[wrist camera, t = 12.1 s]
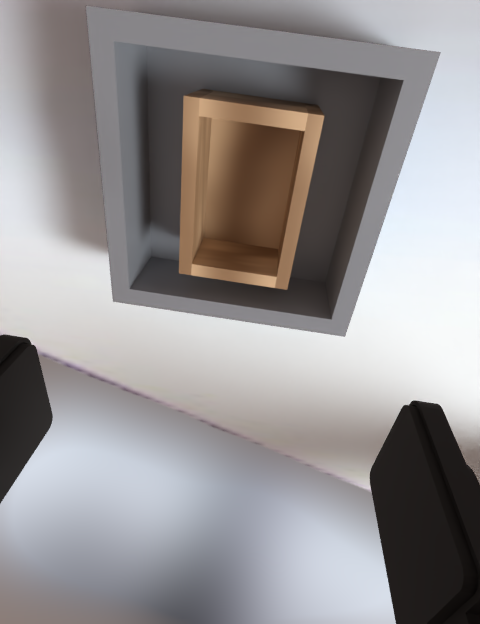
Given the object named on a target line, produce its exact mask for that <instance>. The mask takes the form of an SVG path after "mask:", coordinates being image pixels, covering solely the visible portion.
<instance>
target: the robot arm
mask: <svg viewBox="0 0 480 624" xmlns="http://www.w3.org/2000/svg"><path fill="white" fill-rule="evenodd" d="M51 423H52V411H51V407H50V403H49V399H48V395H47V390H46V386H45V382H44V378H43V375H42V370H41V366H40V362H39V357H38V353H37V349H36V347H35V346H34V345H31V342H30V340H29V339H28V338H23V337H17V336H10V335H1V336H0V503H1V501H2V499H3V498H4V497H5V495H6V494H7V492H8V491H9V489H10V488H11V486H12V485H13V483H14V482H15V480H16V479H17V477H18V476H19V474H20V473H21V471H22V469H23V468H24V466H25V464H26V463H27V462H28V460H29V459H30V457H31V456H32V454H33V453H34V451H35V450H36V448H37V447H38V445H39V443H40V442H41V441H42V439H43V437H44V436H45V434H46V433H47V431H48V430H49V428H50V426H51ZM370 485H371V491H372V495H373V501H374V506H375V512H376V517H377V523H378V528H379V534H380V539H381V544H382V550H383V555H384V560H385V565H386V571H387V577H388V582H389V587H390V593H391V598H392V604H393V609H394V614H395V620H396V624H480V484H479V482H478V480H477V478H476V476H475V474H474V472H473V470H472V469H471V468H470V467H469V466H468V465H466V463H465V460H464V458H463V456H462V453H461V451H460V449H459V446H458V444H457V442H456V439H455V437H454V435H453V433H452V430H451V428H450V426H449V423H448V421H447V419H446V416H445V414H444V412H443V409H442V408H441V406H440V405H438V404H434V403H427V402H421V401H412V402H411V403H410V405H404V406H403V407H402V409H401V411H400V413H399V415H398V417H397V419H396V421H395V423H394V425H393V427H392V429H391V431H390V433H389V435H388V436H387V438H386V440H385V442H384V444H383V446H382V448H381V450H380V452H379V454H378V456H377V458H376V460H375V462H374V464H373V466H372V468H371V472H370Z"/></svg>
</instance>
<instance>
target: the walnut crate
mask: <svg viewBox="0 0 480 624" xmlns="http://www.w3.org/2000/svg"><path fill="white" fill-rule="evenodd" d="M323 121H324V114H323V112H322V111H321V109H320V107H319V106H318V105H314V104H307V103H300V102H293V101H286V100H279V99H272V98H265V97H258V96H251V95H244V94H236V93H229V92H222V91H215V90H208V89H200V90H198V91H195V92H192V93H190V94H187V95H184V100H183V137H182V175H181V212H180V249H179V273H180V274H186V275H193V276H199V277H206V278H212V279H219V280H226V281H232V282H239V283H245V284H252V285H258V286H265V287H271V288H278V289H284V290H287V288H288V284H289V279H290V274H291V270H292V265H293V260H294V256H295V251H296V246H297V242H298V237H299V232H300V228H301V223H302V218H303V214H304V209H305V205H306V200H307V195H308V191H309V186H310V181H311V177H312V172H313V167H314V163H315V158H316V153H317V149H318V144H319V139H320V135H321V130H322V125H323Z"/></svg>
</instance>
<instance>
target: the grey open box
mask: <svg viewBox="0 0 480 624" xmlns="http://www.w3.org/2000/svg"><path fill="white" fill-rule="evenodd" d="M86 15H87V25H88V36H89V47H90V58H91V69H92V80H93V90H94V101H95V112H96V123H97V134H98V145H99V155H100V166H101V177H102V188H103V199H104V210H105V220H106V231H107V242H108V253H109V264H110V275H111V285H112V296H113V302H120V303H127V304H133V305H140V306H146V307H153V308H159V309H166V310H173V311H179V312H186V313H192V314H199V315H206V316H212V317H219V318H225V319H232V320H239V321H245V322H252V323H258V324H265V325H271V326H278V327H285V328H291V329H298V330H304V331H311V332H318V333H324V334H331V335H337V336H344V337H345V335H346V332H347V329H348V326H349V323H350V320H351V317H352V314H353V311H354V308H355V305H356V302H357V299H358V296H359V293H360V290H361V287H362V284H363V281H364V278H365V275H366V272H367V269H368V266H369V263H370V260H371V258H372V255H373V252H374V249H375V246H376V243H377V240H378V237H379V234H380V231H381V228H382V225H383V222H384V219H385V216H386V213H387V210H388V207H389V204H390V201H391V198H392V195H393V192H394V189H395V186H396V183H397V180H398V177H399V174H400V171H401V168H402V165H403V162H404V159H405V156H406V154H407V151H408V148H409V145H410V142H411V139H412V136H413V133H414V130H415V127H416V124H417V121H418V118H419V115H420V112H421V109H422V106H423V103H424V100H425V97H426V94H427V91H428V88H429V85H430V82H431V79H432V76H433V73H434V70H435V67H436V64H437V61H438V58H439V55H440V53H441V52H434V51H427V50H419V49H412V48H404V47H397V46H389V45H381V44H374V43H366V42H359V41H351V40H344V39H336V38H328V37H321V36H313V35H306V34H298V33H291V32H283V31H275V30H268V29H260V28H253V27H245V26H237V25H230V24H222V23H215V22H207V21H200V20H192V19H184V18H177V17H169V16H162V15H154V14H147V13H139V12H131V11H124V10H116V9H109V8H101V7H94V6H86ZM200 89H208V90H215V91H222V92H229V93H236V94H244V95H251V96H258V97H265V98H272V99H279V100H286V101H293V102H300V103H307V104H314V105H318V106H319V107H320V109H321V111H322V112H323V114H324V121H323V125H322V130H321V135H320V139H319V144H318V149H317V153H316V158H315V163H314V167H313V172H312V177H311V181H310V186H309V191H308V195H307V200H306V205H305V209H304V214H303V218H302V223H301V228H300V232H299V237H298V242H297V246H296V251H295V256H294V260H293V265H292V270H291V274H290V279H289V284H288V288H287V290H284V289H278V288H271V287H265V286H258V285H252V284H245V283H239V282H232V281H226V280H219V279H212V278H206V277H199V276H193V275H186V274H180V273H179V249H180V212H181V175H182V137H183V100H184V95H187V94H190V93H192V92H195V91H198V90H200Z"/></svg>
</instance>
